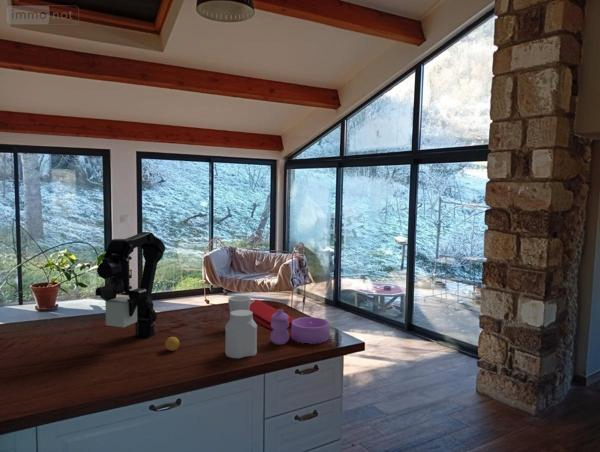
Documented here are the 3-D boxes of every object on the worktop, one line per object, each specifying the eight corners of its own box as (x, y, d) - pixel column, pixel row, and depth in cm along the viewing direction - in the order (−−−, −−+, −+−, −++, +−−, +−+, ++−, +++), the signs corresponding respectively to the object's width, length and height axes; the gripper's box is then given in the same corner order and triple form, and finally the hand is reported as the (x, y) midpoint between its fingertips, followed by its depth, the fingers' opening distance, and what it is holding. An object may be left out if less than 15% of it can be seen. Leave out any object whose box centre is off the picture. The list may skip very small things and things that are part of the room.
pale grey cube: (105, 325, 165) (105, 301, 164) (120, 319, 172) (119, 296, 172) (123, 327, 163) (123, 303, 162) (137, 321, 170) (136, 298, 169)
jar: (231, 359, 159) (231, 318, 158) (221, 351, 168) (221, 311, 166) (261, 354, 165) (261, 314, 164) (250, 346, 173) (250, 307, 172)
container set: (317, 330, 195) (317, 299, 194) (336, 340, 181) (336, 308, 180) (263, 338, 183) (263, 306, 182) (279, 350, 170) (279, 315, 169)
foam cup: (246, 332, 190) (246, 301, 189) (225, 330, 192) (225, 300, 191) (253, 325, 200) (253, 296, 199) (233, 323, 202) (233, 295, 200)
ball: (162, 351, 166) (162, 338, 166) (170, 347, 171) (170, 334, 171) (174, 353, 165) (174, 339, 164) (182, 348, 170) (181, 335, 169)
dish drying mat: (271, 332, 193) (271, 323, 192) (231, 309, 227) (231, 302, 226) (302, 326, 201) (302, 318, 201) (259, 305, 235) (259, 298, 235)
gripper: (83, 275, 161) (84, 318, 162) (128, 279, 156) (129, 323, 157) (105, 270, 172) (106, 310, 173) (148, 273, 166) (148, 315, 168)
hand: (121, 315), depth 167 cm, fingers closed on pale grey cube, 8 cm apart
